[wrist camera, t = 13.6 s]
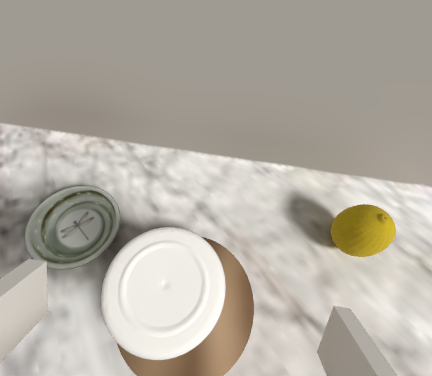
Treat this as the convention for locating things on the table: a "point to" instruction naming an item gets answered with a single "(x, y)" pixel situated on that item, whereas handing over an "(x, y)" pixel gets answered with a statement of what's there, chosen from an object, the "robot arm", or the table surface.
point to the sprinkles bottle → (163, 293)
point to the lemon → (363, 230)
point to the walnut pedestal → (219, 336)
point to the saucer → (72, 227)
